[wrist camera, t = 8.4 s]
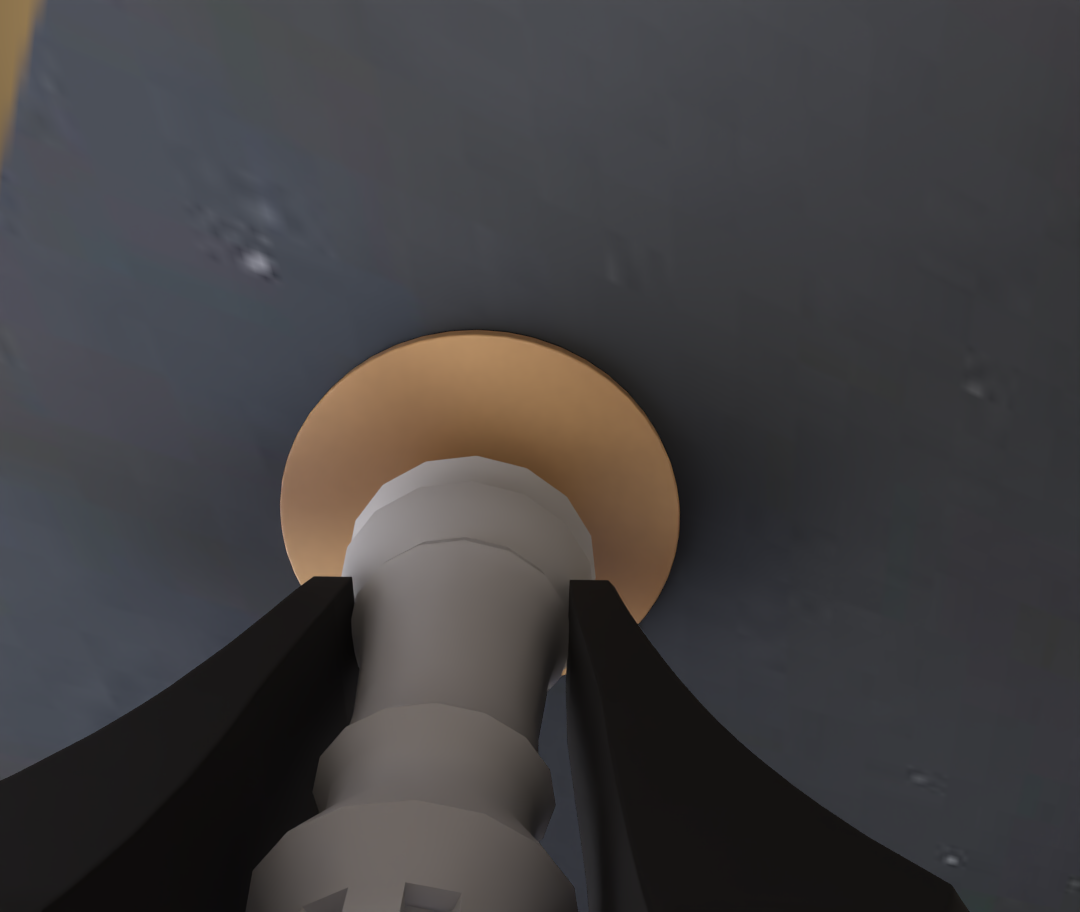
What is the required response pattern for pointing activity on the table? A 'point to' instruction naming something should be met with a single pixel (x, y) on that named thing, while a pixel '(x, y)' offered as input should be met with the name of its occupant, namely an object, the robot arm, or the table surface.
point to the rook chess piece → (443, 703)
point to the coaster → (486, 448)
